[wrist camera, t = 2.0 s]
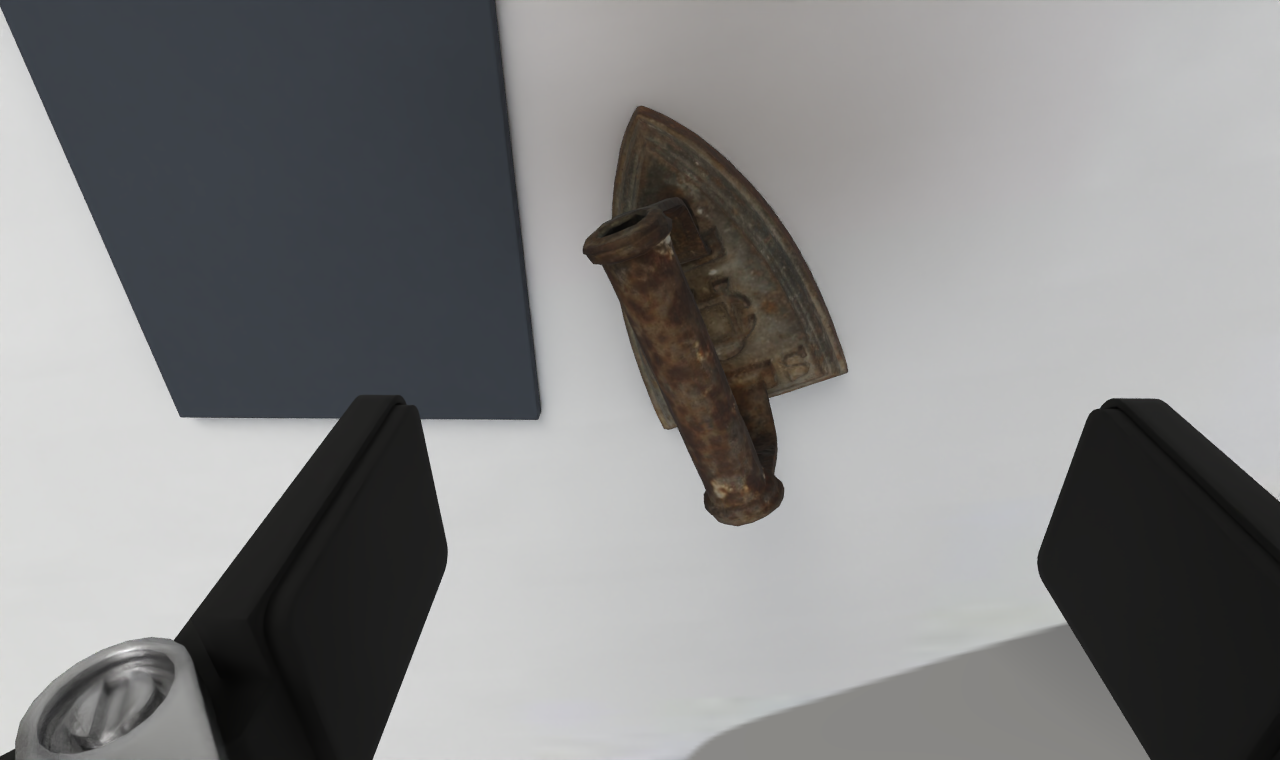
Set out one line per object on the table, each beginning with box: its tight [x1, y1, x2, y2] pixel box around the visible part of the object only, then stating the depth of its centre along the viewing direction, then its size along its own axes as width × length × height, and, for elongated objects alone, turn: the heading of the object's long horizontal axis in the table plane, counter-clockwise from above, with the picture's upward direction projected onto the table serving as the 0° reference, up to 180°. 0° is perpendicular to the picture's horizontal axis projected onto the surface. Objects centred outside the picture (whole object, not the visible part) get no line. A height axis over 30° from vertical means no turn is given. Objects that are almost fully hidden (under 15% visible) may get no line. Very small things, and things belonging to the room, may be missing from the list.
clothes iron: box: [583, 106, 848, 526], centre depth 20 cm, size 7×11×10 cm, turn 24°
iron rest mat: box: [0, 0, 541, 420], centre depth 22 cm, size 20×14×1 cm
